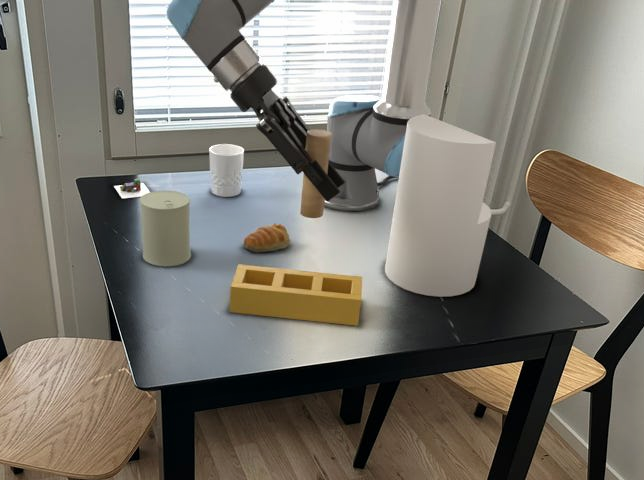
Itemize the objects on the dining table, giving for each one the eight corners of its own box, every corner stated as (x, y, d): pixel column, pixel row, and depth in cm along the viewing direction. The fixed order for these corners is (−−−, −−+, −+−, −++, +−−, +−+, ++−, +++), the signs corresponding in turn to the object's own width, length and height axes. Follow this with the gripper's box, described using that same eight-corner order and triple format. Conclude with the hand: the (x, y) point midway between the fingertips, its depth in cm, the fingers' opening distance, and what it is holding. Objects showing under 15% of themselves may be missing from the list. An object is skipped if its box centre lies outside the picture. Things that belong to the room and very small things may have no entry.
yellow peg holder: (237, 289, 129) (238, 264, 126) (358, 301, 128) (362, 276, 125) (229, 312, 122) (230, 286, 119) (357, 326, 121) (361, 300, 118)
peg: (314, 207, 127) (321, 128, 119) (327, 216, 124) (336, 134, 116) (295, 211, 125) (302, 130, 117) (308, 220, 122) (316, 137, 114)
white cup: (213, 184, 171) (213, 142, 166) (245, 187, 171) (246, 145, 165) (205, 196, 165) (205, 153, 159) (239, 199, 164) (240, 156, 158)
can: (150, 269, 134) (146, 209, 127) (137, 249, 140) (133, 190, 134) (197, 262, 137) (196, 203, 130) (182, 243, 144) (181, 185, 137)
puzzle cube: (137, 186, 167) (137, 176, 166) (140, 190, 165) (140, 180, 164) (119, 188, 166) (119, 178, 165) (122, 192, 164) (122, 182, 162)
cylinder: (426, 304, 128) (457, 149, 112) (366, 265, 140) (386, 119, 124) (495, 284, 136) (532, 136, 120) (432, 248, 148) (459, 109, 132)
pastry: (256, 258, 140) (256, 239, 138) (235, 245, 144) (235, 227, 142) (292, 246, 145) (294, 229, 143) (272, 235, 149) (273, 217, 147)
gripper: (243, 81, 124) (328, 187, 130) (212, 106, 110) (309, 223, 116) (275, 52, 120) (361, 162, 126) (247, 73, 106) (345, 196, 112)
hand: (336, 191), depth 121 cm, fingers closed on peg, 4 cm apart
